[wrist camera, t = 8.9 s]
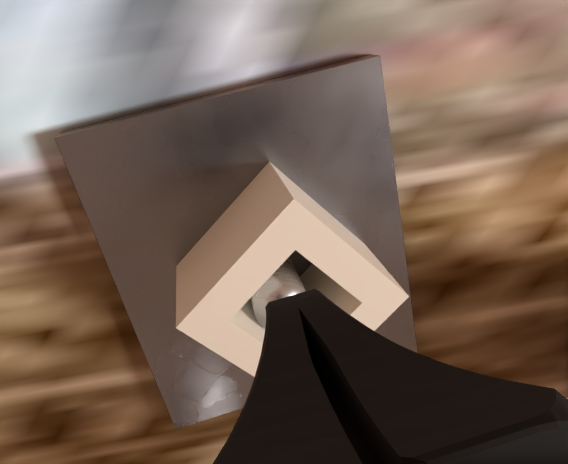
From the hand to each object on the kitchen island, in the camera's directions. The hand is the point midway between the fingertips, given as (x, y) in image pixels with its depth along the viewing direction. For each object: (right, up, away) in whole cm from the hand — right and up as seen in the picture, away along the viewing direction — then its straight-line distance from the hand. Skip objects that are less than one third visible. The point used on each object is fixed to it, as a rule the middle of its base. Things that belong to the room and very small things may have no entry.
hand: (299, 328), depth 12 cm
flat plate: (-1, +1, +9) cm, 9 cm away
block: (-1, +1, +8) cm, 8 cm away
